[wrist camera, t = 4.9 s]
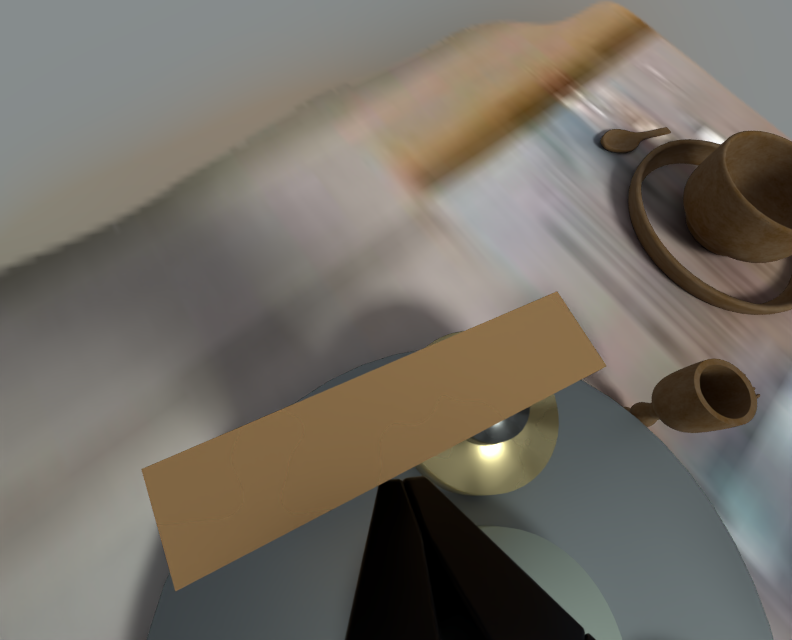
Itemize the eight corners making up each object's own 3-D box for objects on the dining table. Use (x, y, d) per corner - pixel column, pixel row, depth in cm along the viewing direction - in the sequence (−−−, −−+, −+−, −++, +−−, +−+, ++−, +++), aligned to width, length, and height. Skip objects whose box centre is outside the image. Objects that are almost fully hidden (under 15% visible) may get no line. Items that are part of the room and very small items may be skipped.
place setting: (871, 328, 25) (1018, 281, 20) (621, 473, 19) (735, 461, 14) (689, 117, 31) (766, 35, 25) (449, 180, 25) (484, 90, 19)
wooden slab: (491, 324, 19) (704, 98, 8) (566, 452, 17) (953, 366, 7) (245, 431, 16) (88, 275, 5) (306, 603, 14) (264, 915, 3)
